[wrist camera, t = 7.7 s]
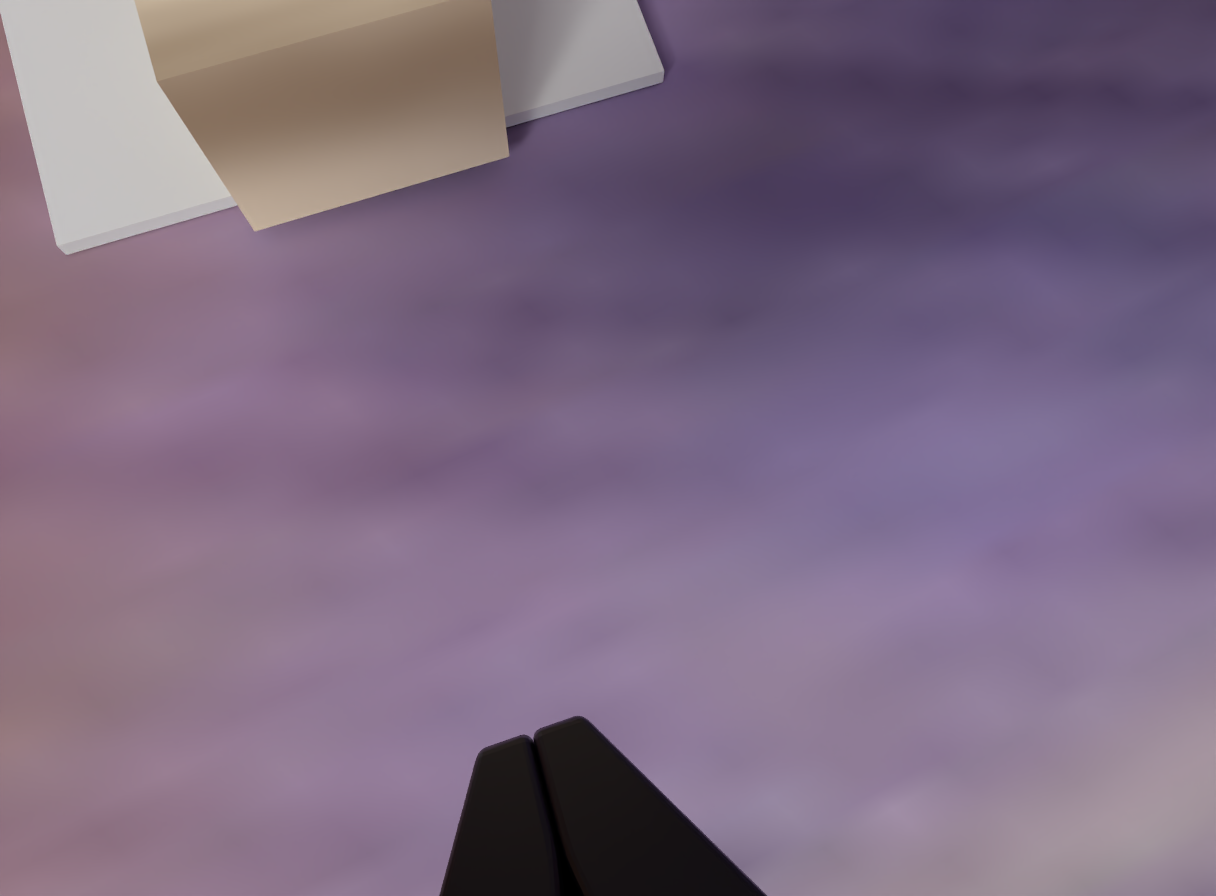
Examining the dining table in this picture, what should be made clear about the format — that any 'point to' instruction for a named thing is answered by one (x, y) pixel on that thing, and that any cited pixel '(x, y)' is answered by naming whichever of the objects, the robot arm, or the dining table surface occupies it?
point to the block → (329, 94)
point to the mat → (169, 155)
